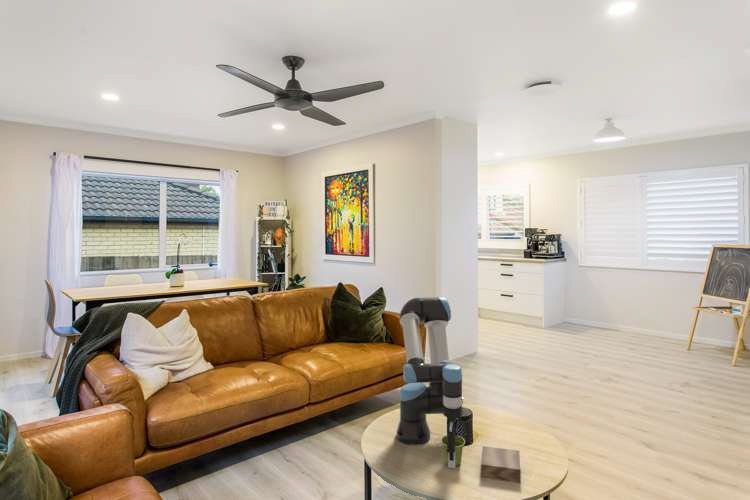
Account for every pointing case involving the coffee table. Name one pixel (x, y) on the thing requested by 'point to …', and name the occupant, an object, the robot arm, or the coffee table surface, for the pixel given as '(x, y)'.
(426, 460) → the coffee table surface
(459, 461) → the plant pot
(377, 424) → the coffee table surface
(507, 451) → the block
